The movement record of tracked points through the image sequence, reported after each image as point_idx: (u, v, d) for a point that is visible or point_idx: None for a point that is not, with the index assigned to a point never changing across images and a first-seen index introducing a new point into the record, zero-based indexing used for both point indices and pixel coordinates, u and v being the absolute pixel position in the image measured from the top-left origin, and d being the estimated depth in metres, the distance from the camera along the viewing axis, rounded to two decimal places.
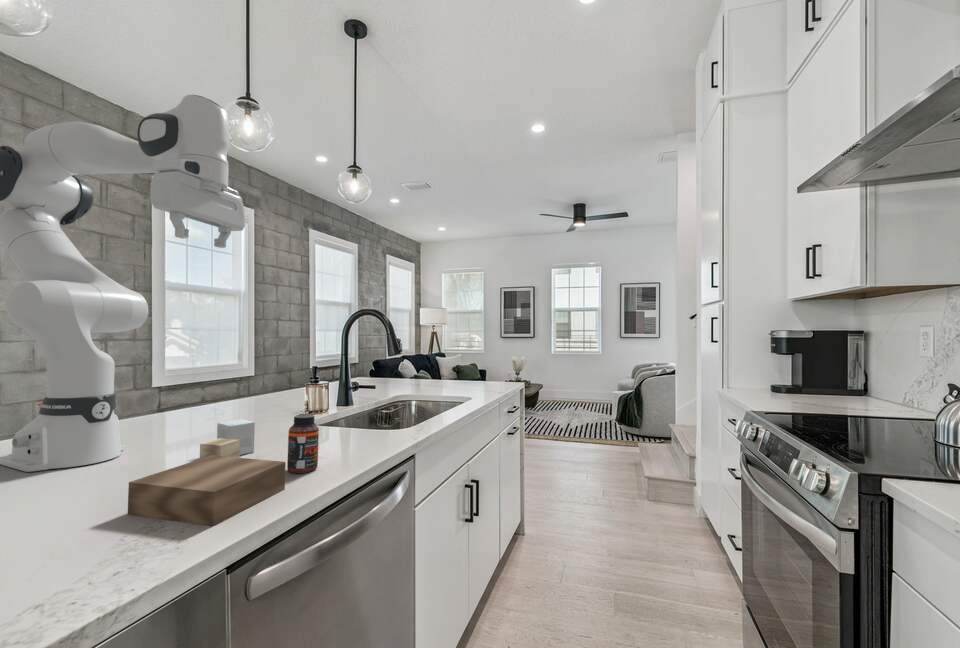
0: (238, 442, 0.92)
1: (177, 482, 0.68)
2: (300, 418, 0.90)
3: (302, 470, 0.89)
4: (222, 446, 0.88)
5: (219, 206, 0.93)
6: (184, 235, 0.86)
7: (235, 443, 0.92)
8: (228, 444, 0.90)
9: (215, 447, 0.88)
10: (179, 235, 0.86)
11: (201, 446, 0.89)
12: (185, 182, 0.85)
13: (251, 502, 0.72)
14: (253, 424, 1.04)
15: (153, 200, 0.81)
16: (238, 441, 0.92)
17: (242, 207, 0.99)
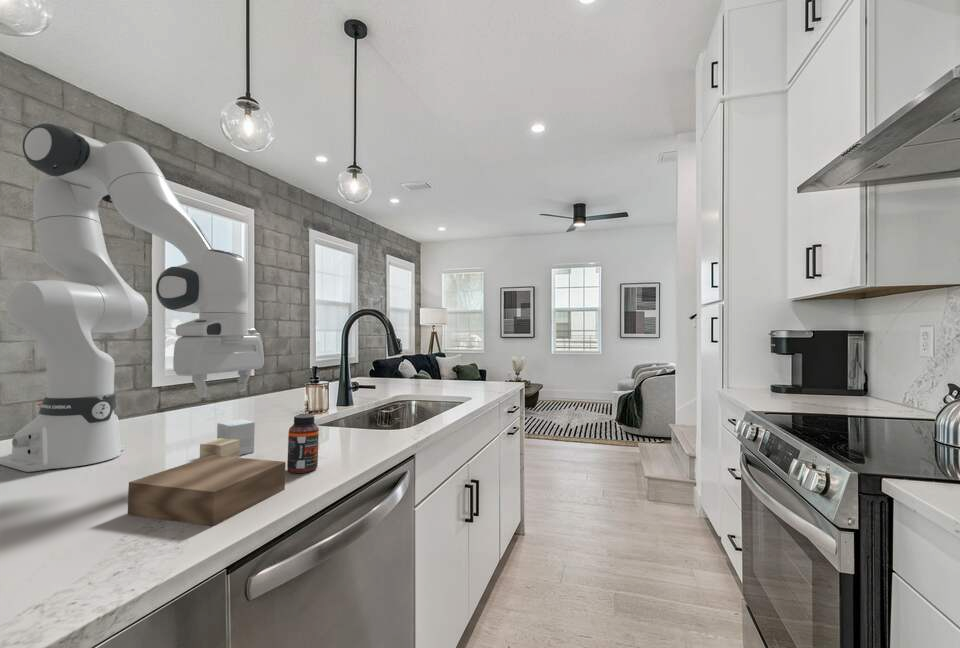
0: (238, 442, 0.92)
1: (177, 482, 0.68)
2: (300, 418, 0.90)
3: (302, 470, 0.89)
4: (222, 446, 0.88)
5: (239, 354, 0.93)
6: (206, 395, 0.86)
7: (235, 443, 0.92)
8: (228, 444, 0.90)
9: (215, 447, 0.88)
10: (202, 396, 0.86)
11: (201, 446, 0.89)
12: (207, 344, 0.85)
13: (251, 502, 0.72)
14: (253, 424, 1.04)
15: (177, 369, 0.82)
16: (238, 441, 0.92)
17: (261, 345, 0.99)
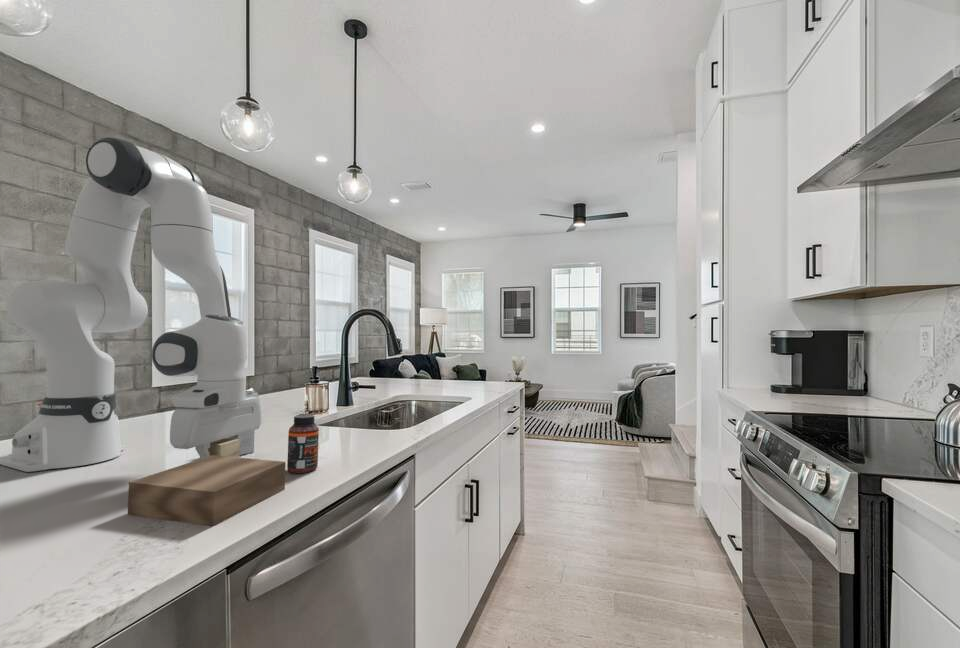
0: (238, 442, 0.92)
1: (177, 482, 0.68)
2: (300, 418, 0.90)
3: (302, 470, 0.89)
4: (222, 446, 0.88)
5: (237, 418, 0.93)
6: None
7: (235, 442, 0.92)
8: (228, 444, 0.90)
9: (215, 447, 0.88)
10: None
11: None
12: (204, 415, 0.85)
13: (251, 502, 0.72)
14: None
15: (173, 443, 0.81)
16: (238, 441, 0.92)
17: (258, 406, 0.99)
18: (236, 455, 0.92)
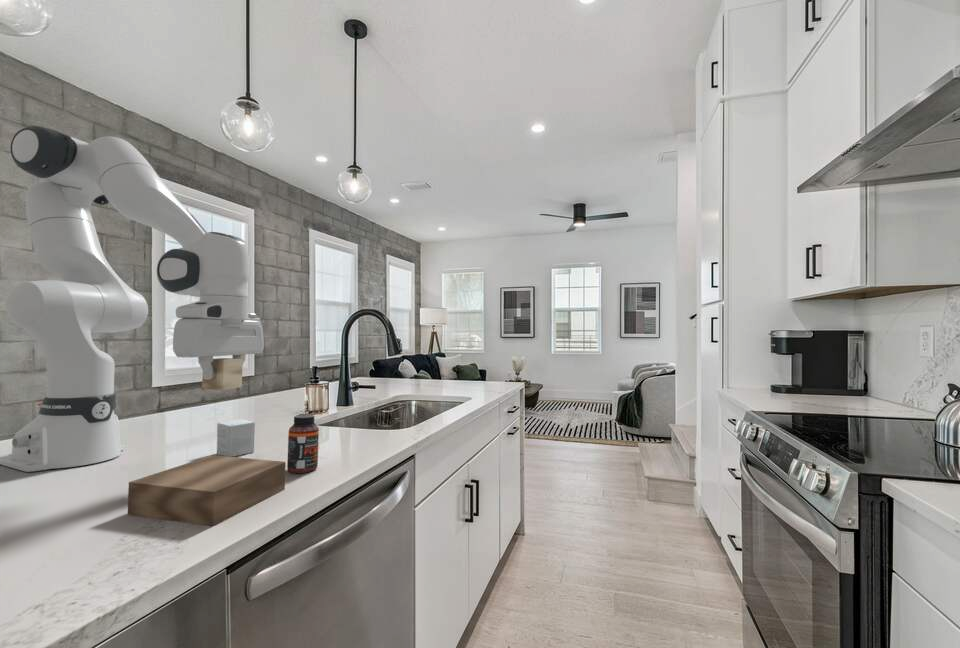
0: (241, 361, 0.92)
1: (177, 482, 0.68)
2: (300, 418, 0.90)
3: (302, 470, 0.89)
4: (225, 361, 0.88)
5: (239, 338, 0.93)
6: (212, 377, 0.87)
7: (238, 361, 0.92)
8: (231, 360, 0.90)
9: (218, 362, 0.88)
10: (207, 378, 0.87)
11: None
12: (207, 326, 0.85)
13: (251, 502, 0.72)
14: (253, 424, 1.04)
15: (176, 351, 0.81)
16: (241, 360, 0.92)
17: (261, 330, 0.99)
18: (239, 374, 0.92)
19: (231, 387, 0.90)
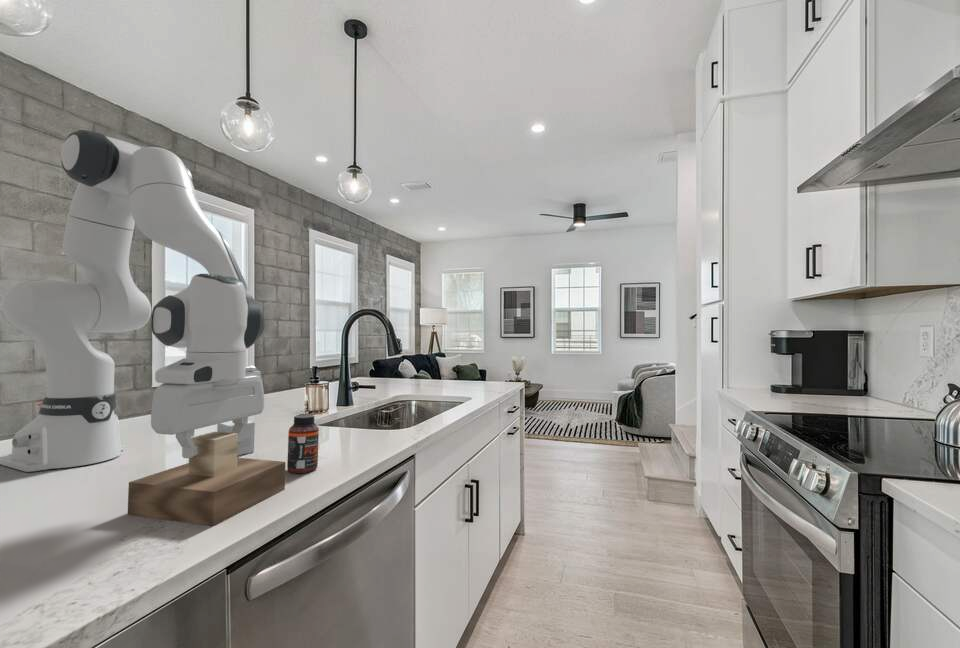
0: (236, 436, 0.76)
1: (177, 482, 0.68)
2: (300, 418, 0.90)
3: (302, 470, 0.89)
4: (216, 441, 0.72)
5: (235, 400, 0.77)
6: (193, 455, 0.70)
7: (233, 437, 0.75)
8: (224, 439, 0.74)
9: (207, 443, 0.72)
10: (187, 456, 0.69)
11: None
12: (194, 393, 0.68)
13: (251, 502, 0.72)
14: (253, 424, 1.04)
15: (155, 427, 0.65)
16: (236, 435, 0.76)
17: (261, 386, 0.83)
18: (234, 452, 0.76)
19: (224, 471, 0.74)
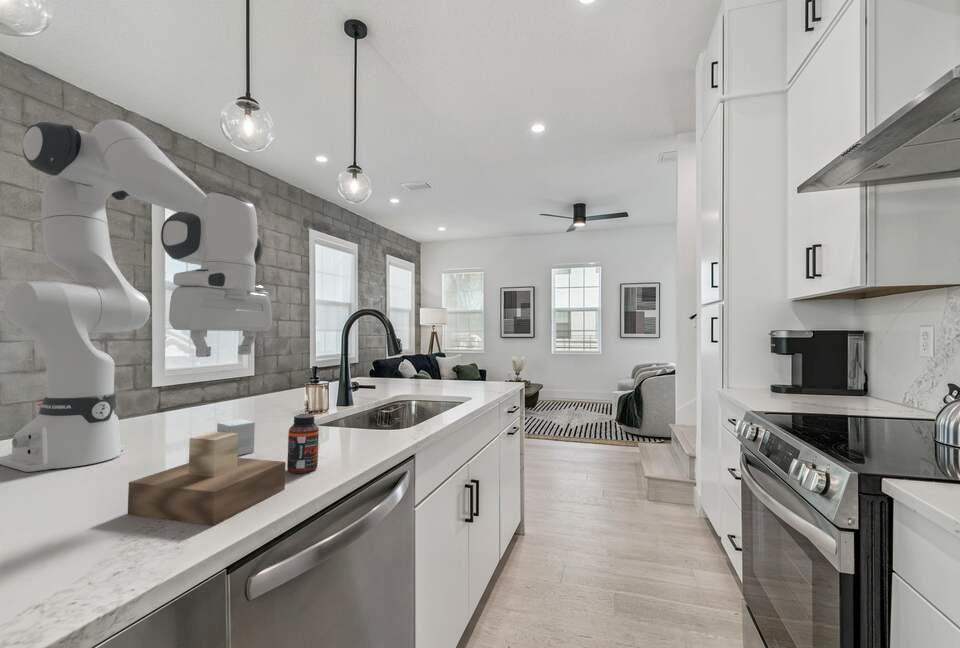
0: (236, 436, 0.76)
1: (177, 482, 0.68)
2: (300, 418, 0.90)
3: (302, 470, 0.89)
4: (216, 441, 0.72)
5: (244, 312, 0.83)
6: (206, 354, 0.76)
7: (233, 437, 0.75)
8: (224, 439, 0.74)
9: (207, 443, 0.72)
10: (200, 355, 0.76)
11: (191, 441, 0.73)
12: (208, 296, 0.75)
13: (251, 502, 0.72)
14: (253, 424, 1.04)
15: (173, 322, 0.72)
16: (236, 435, 0.76)
17: (269, 305, 0.89)
18: (234, 452, 0.76)
19: (224, 471, 0.74)
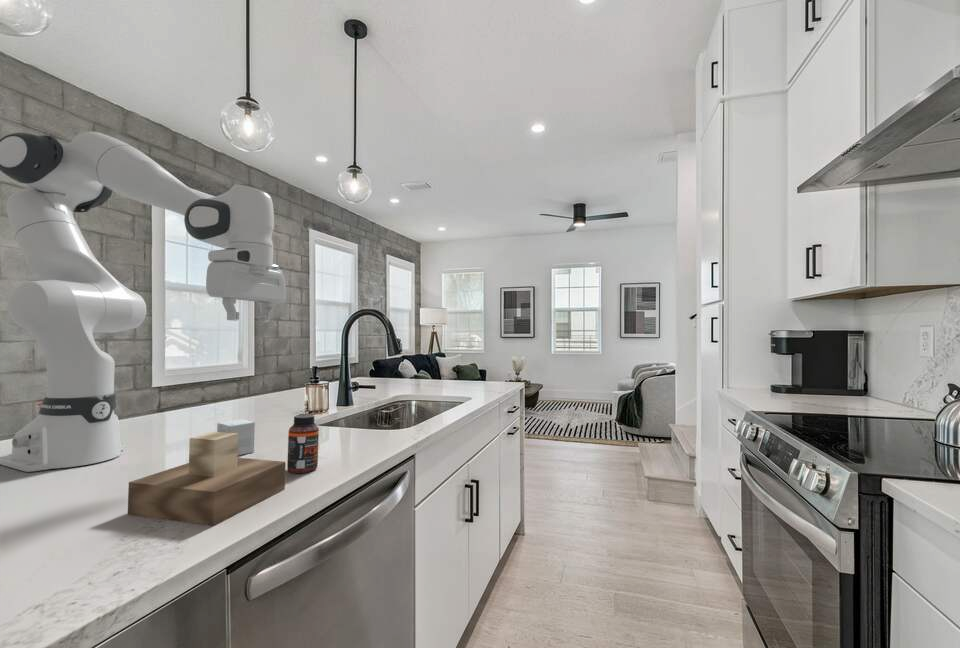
0: (236, 436, 0.76)
1: (177, 482, 0.68)
2: (300, 418, 0.90)
3: (302, 470, 0.89)
4: (216, 441, 0.72)
5: (264, 285, 0.99)
6: (235, 318, 0.92)
7: (233, 437, 0.75)
8: (224, 439, 0.74)
9: (207, 443, 0.72)
10: (231, 318, 0.92)
11: (191, 441, 0.73)
12: (237, 270, 0.91)
13: (251, 502, 0.72)
14: (253, 424, 1.04)
15: (209, 290, 0.88)
16: (236, 435, 0.76)
17: (283, 281, 1.05)
18: (234, 452, 0.76)
19: (224, 471, 0.74)
